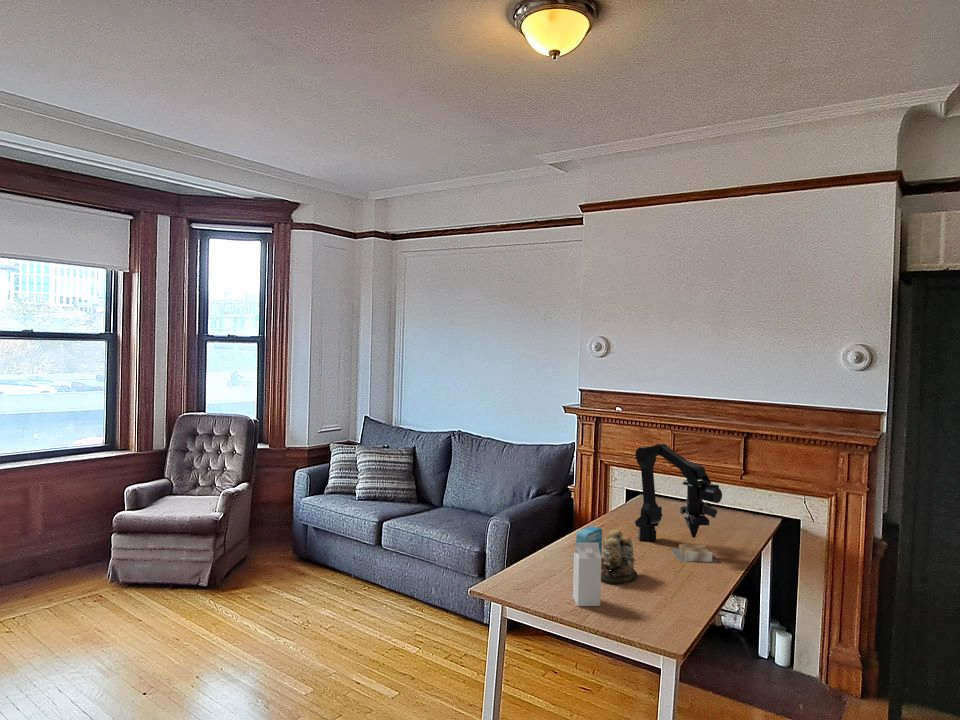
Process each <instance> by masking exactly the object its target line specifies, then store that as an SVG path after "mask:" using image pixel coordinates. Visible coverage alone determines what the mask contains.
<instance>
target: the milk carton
mask: <svg viewBox="0 0 960 720" xmlns="http://www.w3.org/2000/svg"><path fill="white" fill-rule="evenodd" d="M601 572H602V554H600V550H599V543H577V547H576V546H575V549H574V551H573V575H572V576H573V578H572V579H573V580H572V581H573V583H572V598H573V600H574V601H575V604H576V606H577V607H601V592H602V591H601V586H602V585H601V584H602V581H601Z"/></svg>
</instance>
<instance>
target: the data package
mask: <svg viewBox="0 0 960 720" xmlns="http://www.w3.org/2000/svg"><path fill="white" fill-rule="evenodd" d="M577 543H599V550H600V554H601V555H602V554H603V529H602V528H600V527H596V526H592V525H591V526H588V527H585V528H583V529H580V530H578V531H577V532H576V537H575V548H576V547H577Z"/></svg>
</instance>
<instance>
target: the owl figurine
mask: <svg viewBox="0 0 960 720" xmlns="http://www.w3.org/2000/svg"><path fill="white" fill-rule="evenodd" d="M632 541H633V540H632V538H631V536H628V535H624V536H623V533H622V531H621V530H620V529H611V530H609V532H608V533H607V535H606V538H604V540H603V541H602V554H603V555H602V556H603V557H604V561H603V562H601V566H603V568H604V569H603V570H601V582H605V583H608V584H610V585H614V586H621V585H622V586H623V585H624V584H625V585H626V584H632V583H633V582H635V581H636V580H637V579H638V572H637V571H636V570H635V568H634V563H635V561H636V559H635V557H634V547H633V546H634V544H633V542H632ZM609 570H611V571H609Z"/></svg>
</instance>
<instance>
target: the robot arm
mask: <svg viewBox="0 0 960 720" xmlns="http://www.w3.org/2000/svg"><path fill="white" fill-rule="evenodd" d="M658 456H661V458H663V459H664V460H666V462H669V463H670V464H671V465H673V466H675V467H676V468H677V469H679V471H680V472H681V474H682V476H683V477H685V478H686V479H685V480H684V481H683V482H682V485H685V486H687V489H686V490H687V491H686V496H687V497H686V498H685V502H686V505H682V506H681V507H680V508H679V513H680V514H681V515H684V514H685V516H684V517H683V518H684V520H685V523H686V525H687V528H688V531H689V533H690V535H691V537H692V538H694V539H695V538H696V536H697V533H698V531H699V527H700V526H710V519H709V518H708V517H707V516H706V515H708V516H709V517H711V518H713V519H715V518H716V516H717V514H718V509H716V508H714V507H713V506H712V504H711V503H714V504H719V503H720V502H721V500H722V499H723V493H722V490H721V488H720V485H719V484H713V483H712V480H711V479H710V477H709V476H708V474H707V471H706V468H705V467H704V466H703V465H702V464H698V463H697V462H694V461H690V460H688V459H686V458H685V457H683V456H682V455H680V453H678V452H676V451H675V450H673V449H672V448H670V447H669V446H668V445H667V444H665V443H659V444H655V445H652V446H642V447H638V448H637V449H636V450H635V458H636V463H637V465H638V467H639V468H640V472H641V485H642V497H643V498H642V499H643V504H642V506H641V509H640V516H639V517H638V518H637V519H636V520H634V523H635V527H637V528H638V534H637V535H638V537H637V539H638V540H639V542H641V543H642V542H643V543H656V541H657V530H656V527H658V526H659V523H660V522H661V521H662V517H663V513H662V506H659V505H658V504H657V502H656V499H657V498H656V489H655V478H654V467H655V464H656V463H657V462H656V461H657V457H658ZM704 501H706V502H704Z"/></svg>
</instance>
